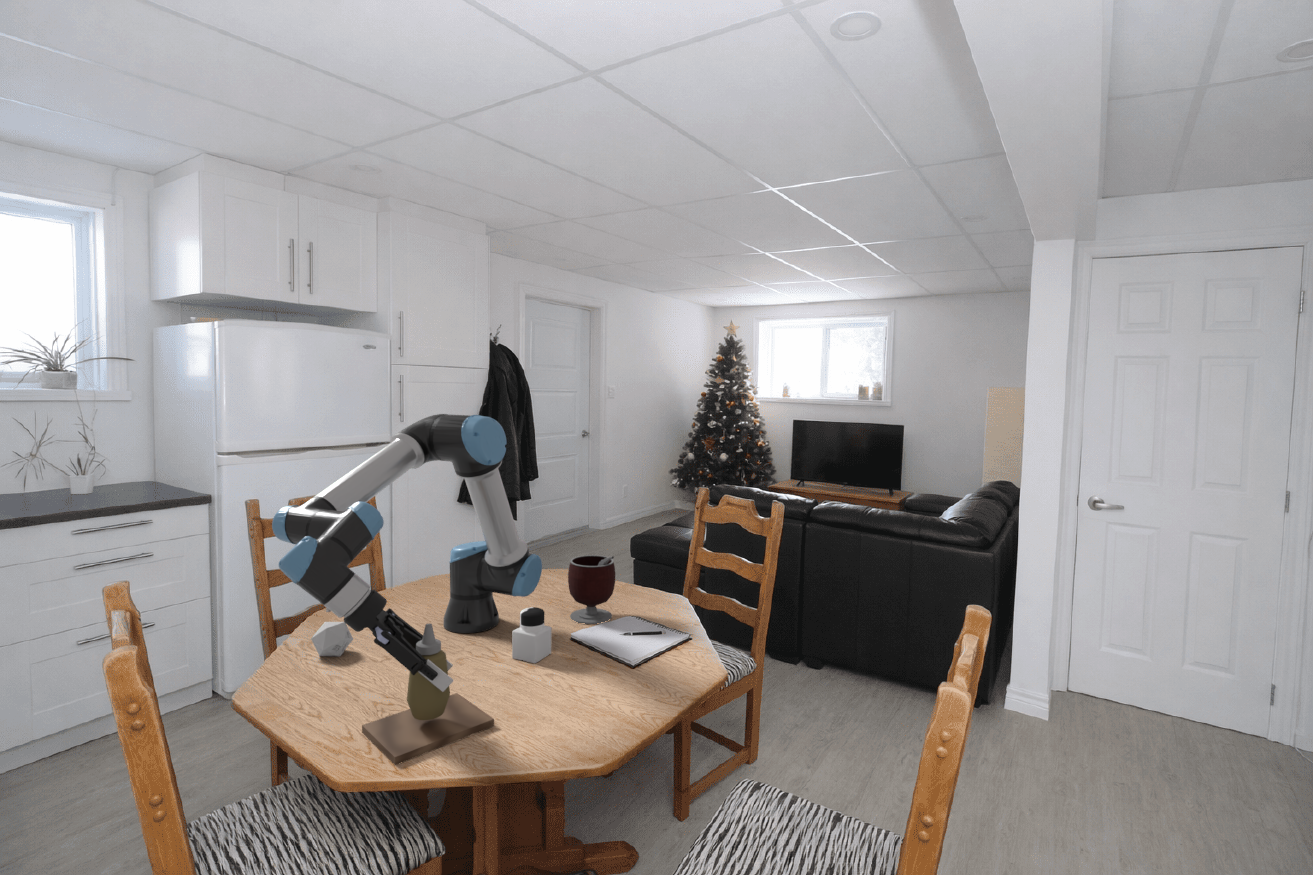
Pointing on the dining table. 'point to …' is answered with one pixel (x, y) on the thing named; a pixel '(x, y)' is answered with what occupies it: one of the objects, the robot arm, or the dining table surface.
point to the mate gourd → (591, 586)
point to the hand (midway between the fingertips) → (447, 677)
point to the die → (332, 639)
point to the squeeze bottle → (421, 691)
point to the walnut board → (426, 730)
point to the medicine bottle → (531, 636)
